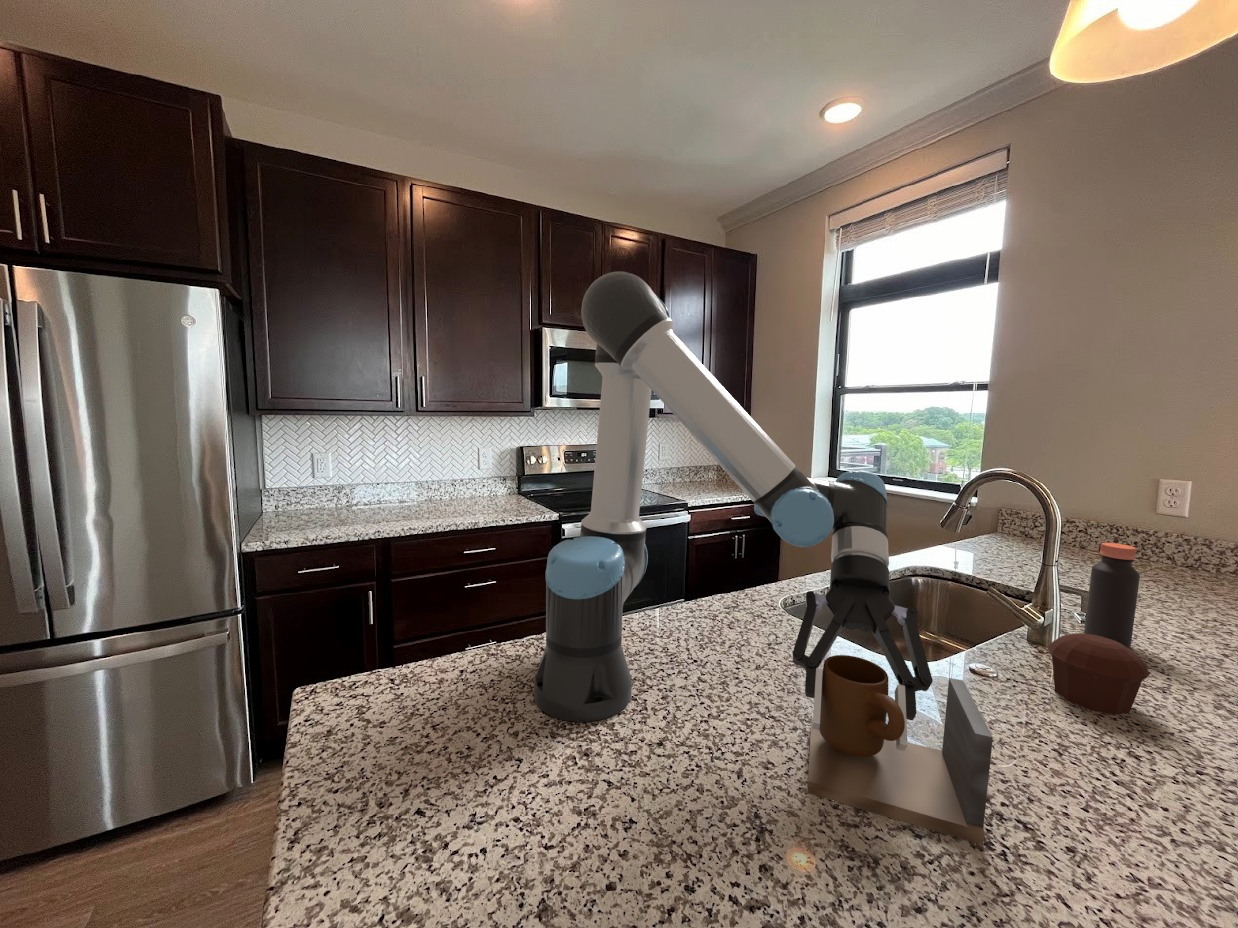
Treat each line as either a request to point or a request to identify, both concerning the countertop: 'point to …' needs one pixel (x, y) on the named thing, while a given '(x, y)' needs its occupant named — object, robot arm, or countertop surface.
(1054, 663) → the muffin
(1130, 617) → the bottle
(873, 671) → the mug
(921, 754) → the shelf
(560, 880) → the countertop surface
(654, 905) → the countertop surface
